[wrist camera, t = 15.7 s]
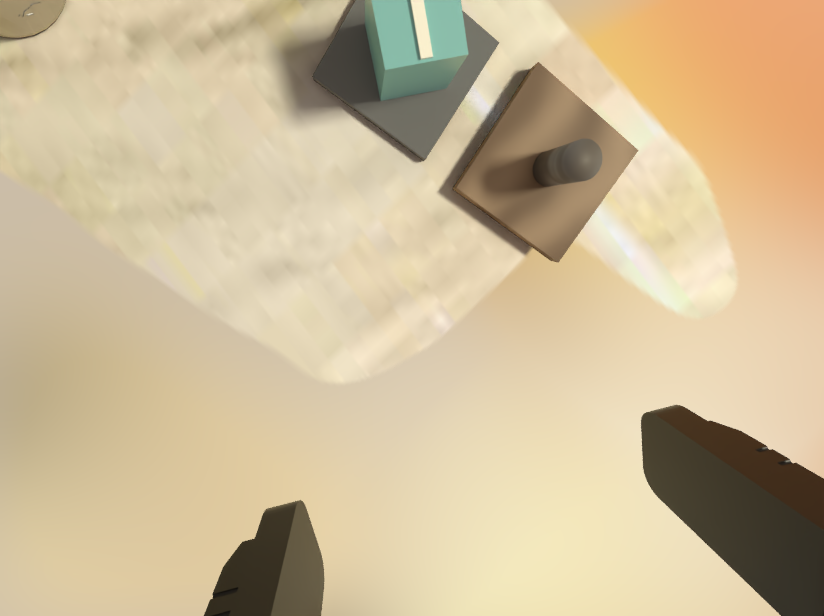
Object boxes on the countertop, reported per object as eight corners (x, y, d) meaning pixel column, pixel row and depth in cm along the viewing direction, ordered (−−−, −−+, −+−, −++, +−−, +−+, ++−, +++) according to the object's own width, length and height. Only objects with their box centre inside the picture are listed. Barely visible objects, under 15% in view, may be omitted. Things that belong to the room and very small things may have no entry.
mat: (313, 79, 31) (312, 76, 30) (386, -48, 30) (387, -56, 29) (423, 160, 34) (425, 159, 33) (495, 46, 32) (499, 42, 31)
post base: (452, 188, 34) (473, 182, 28) (530, 68, 33) (573, 31, 26) (550, 260, 37) (591, 270, 30) (627, 152, 36) (688, 138, 29)
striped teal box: (364, 23, 30) (365, -35, 23) (433, 11, 30) (454, -50, 23) (380, 101, 31) (385, 68, 24) (446, 88, 32) (469, 53, 25)
